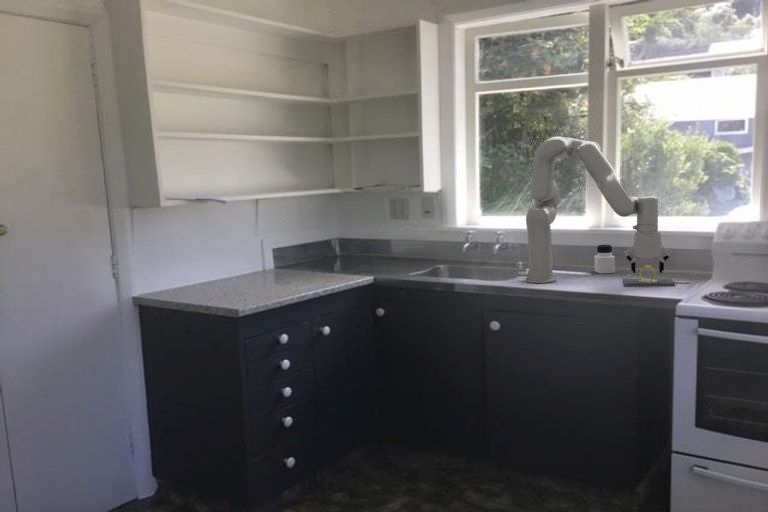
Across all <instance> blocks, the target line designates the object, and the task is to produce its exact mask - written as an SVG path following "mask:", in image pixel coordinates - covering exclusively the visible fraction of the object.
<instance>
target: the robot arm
mask: <svg viewBox="0 0 768 512" xmlns="http://www.w3.org/2000/svg"><path fill="white" fill-rule="evenodd" d="M602 150H603V149H602V147H601V145H600V144H599V143H598V142H596V141H592V140H583V139H577V138H572V137H566V136H561V135H559V136H553V137H549V138H547V139H545V140H544V141H542V143H541V144H539V145H538V147H537V149H536V150H535V152H534V158H533V166H532V167H533V168H532V174H531V186H530V195H531V198H533V200H534V205H533V206H531V207H530V208H528V211H527V213H526V216H525V224H526V230H527V231H526V232H527V244H528V246H527V248H528V250H527V251H528V270H525V271H518V272H517V276H518V277H525V278H524V279H525V282H526V283H531V284H546V283H549V284H550V283H554V282H556V281H558V280H557V277H556V276H554V275H553V244H552V242H553V241H552V231H551V230H552V229H551V224H553V223H554V222H555V220H556V218H557V217H556V216H557V213H558V212H557V209H558V201H559V186H558V184H557V182H556V181H555V179H554V177H555V176H554V175H555V162H556V160H558V159H566V160H567V159H568V160H573V161H579V162H580V164H582V166H583V167H584V168H585V170H586V171H587V174H589V176H590V177H591V178H592V180H593V181H594V182H595V185H596V186H597V188H598V190H599V191H600V193H601V195H602V196H603V198H604V199H605V200H606V202H607V203H608V205H609V206H610V208H611V209H612V210H613V211H614V213H615V214H616V215H618V216H619V217H622V218H625V217H630V216H631V215H632V216H633V215H636V225H632V229H633V230H636V231H635V233H634V237H633V246H631V247H630V248H628V249H625V250H624V251H623V255H624V256H625V257H626V259H627V260H628V261H629V262H630V270H631V271H632V273H633V274H635V273H636V261H637V259H658V260H659V263H658V264H659V267H658V268H659V270H658V271H659V273H660V274H662V273H663V271H664V270H665V268H664V267H665V262H666V261H667V260H668V259H669V258H670V256H671V255H672V253H673V252H672V250H671V249H669V248H667V247H664V246H662V245H663V244H662V234H661V231H659V199H658V197H657V196H654V195H652V196H651V195H647V196H644V195H643V196H632V195H628V194H627V192H626V191H625V189H624V188H623V186H622V185H621V184H620V181H619V179H618V177H617V173H616V170H615V168H614V167H613V166H612V164H611V163H610V162H609V161H608V159H607V158H606V156H605V154H603V151H602ZM631 252H633V256H630V254H629V253H631ZM663 252H665V253H666V254H665V255H664V256H663V257H662V255H663Z"/></svg>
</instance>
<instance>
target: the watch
mask: <svg viewBox="0 0 768 512" xmlns="http://www.w3.org/2000/svg"><path fill="white" fill-rule="evenodd" d="M644 269H650V270H652V271H653V274H654V276H653V279H652V280H654V278H656V276H657V273H656V270H655V269H654V267H652V265H643V267H641V268H640V270H639V272H638V276H639V279H641V280H643V281H652V280H644V279H645V278H643V277H642V275H641V274H642V271H643V270H644Z"/></svg>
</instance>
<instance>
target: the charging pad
mask: <svg viewBox="0 0 768 512" xmlns="http://www.w3.org/2000/svg"><path fill="white" fill-rule="evenodd" d="M653 278H654V277H653ZM653 278H643V279H644V280H652V279H653ZM691 283H692V281H690V280H689V281H688V280H686V281H685V280H684V281H683V280H678V281H676V280H675V281H674V280H673V279H672V278H671V277H670V278H669V277H667V278H666V277H665V278H663V277H662V278H661V277H658V278H656V277H655V278H654V280H652V281H643V280H641V279H640V278H622V284H623V287H676V284H691Z"/></svg>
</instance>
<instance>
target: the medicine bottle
mask: <svg viewBox="0 0 768 512" xmlns="http://www.w3.org/2000/svg"><path fill="white" fill-rule="evenodd" d="M596 248H597V252H596V253H597V254H595V255H593V256H594V258H593V260H594V261H593V262H594V272H595V273H598V274H601V275H602V274H615V273H616V256H614V255H613V246H612V245H611V244H598V245H597V247H596Z"/></svg>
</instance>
